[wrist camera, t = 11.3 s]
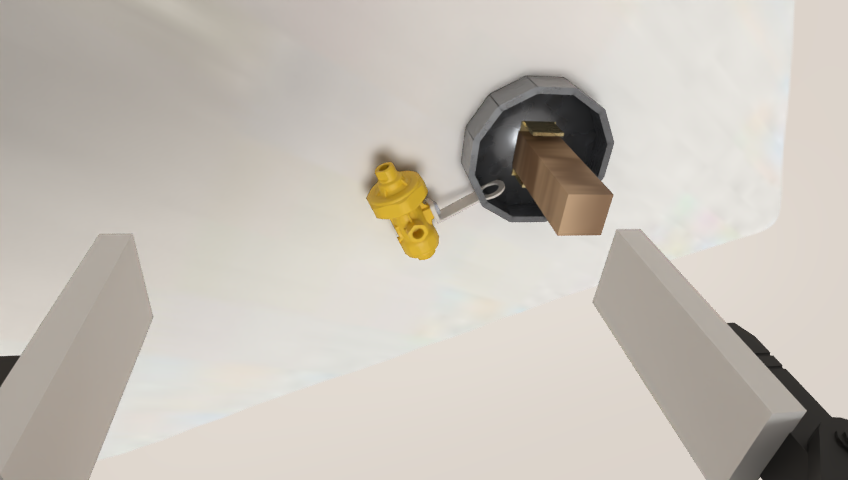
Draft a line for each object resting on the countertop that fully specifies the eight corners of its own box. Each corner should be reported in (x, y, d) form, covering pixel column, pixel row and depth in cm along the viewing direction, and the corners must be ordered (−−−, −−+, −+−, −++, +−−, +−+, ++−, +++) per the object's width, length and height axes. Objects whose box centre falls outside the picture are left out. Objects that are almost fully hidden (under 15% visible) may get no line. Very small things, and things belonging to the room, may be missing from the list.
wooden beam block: (511, 166, 50) (557, 235, 40) (518, 131, 48) (568, 194, 38) (547, 166, 51) (600, 235, 41) (555, 132, 49) (613, 194, 39)
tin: (455, 206, 53) (462, 224, 50) (472, 73, 46) (482, 85, 43) (578, 206, 55) (592, 223, 52) (614, 79, 48) (631, 91, 45)
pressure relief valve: (395, 252, 54) (351, 169, 48) (500, 196, 54) (468, 108, 49) (410, 281, 49) (363, 193, 43) (524, 219, 50) (493, 125, 44)
